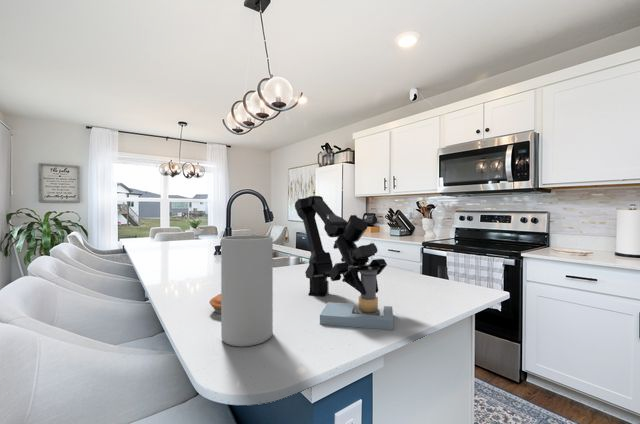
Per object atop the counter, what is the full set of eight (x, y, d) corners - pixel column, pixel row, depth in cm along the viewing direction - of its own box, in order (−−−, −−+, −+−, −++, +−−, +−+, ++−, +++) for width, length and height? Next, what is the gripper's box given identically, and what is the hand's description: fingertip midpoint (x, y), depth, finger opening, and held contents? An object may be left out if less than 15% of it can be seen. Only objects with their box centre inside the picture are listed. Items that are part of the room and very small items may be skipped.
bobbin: (352, 315, 88) (352, 271, 88) (363, 308, 93) (363, 267, 93) (373, 320, 84) (373, 274, 84) (383, 313, 89) (383, 270, 89)
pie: (198, 315, 91) (198, 298, 91) (230, 300, 106) (230, 286, 106) (240, 322, 85) (240, 304, 85) (268, 306, 100) (268, 291, 100)
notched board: (319, 323, 84) (319, 315, 84) (327, 310, 95) (327, 302, 95) (393, 329, 79) (393, 320, 79) (392, 314, 91) (392, 306, 91)
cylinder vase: (224, 352, 67) (224, 240, 67) (219, 331, 78) (219, 236, 78) (278, 342, 72) (278, 238, 72) (266, 324, 83) (266, 234, 83)
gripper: (334, 236, 87) (357, 281, 78) (383, 233, 97) (408, 274, 87) (321, 259, 94) (340, 303, 85) (367, 254, 103) (389, 294, 94)
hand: (371, 293), depth 87 cm, fingers closed on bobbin, 4 cm apart
